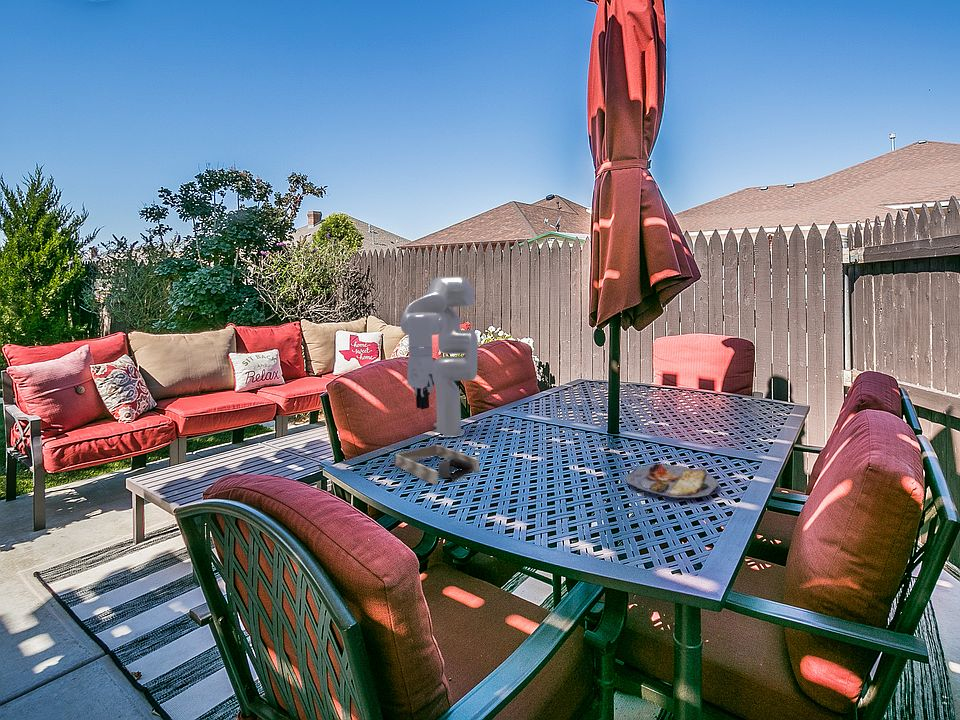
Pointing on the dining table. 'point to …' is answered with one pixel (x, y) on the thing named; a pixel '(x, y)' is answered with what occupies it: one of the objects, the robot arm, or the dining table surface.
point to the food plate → (672, 480)
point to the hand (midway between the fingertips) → (422, 407)
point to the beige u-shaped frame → (424, 472)
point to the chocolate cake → (454, 468)
